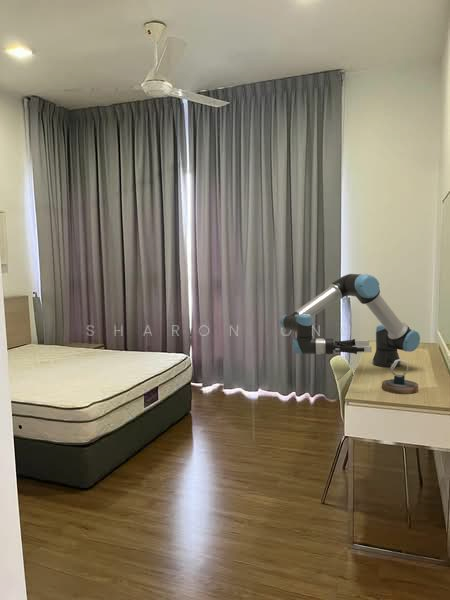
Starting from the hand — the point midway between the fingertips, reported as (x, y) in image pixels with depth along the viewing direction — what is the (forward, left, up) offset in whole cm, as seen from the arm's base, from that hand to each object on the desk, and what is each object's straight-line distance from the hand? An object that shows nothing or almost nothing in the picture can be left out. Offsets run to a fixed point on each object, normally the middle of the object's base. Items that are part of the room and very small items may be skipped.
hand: (370, 346), depth 229 cm
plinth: (-5, +13, -19) cm, 24 cm away
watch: (-5, +12, -17) cm, 21 cm away
